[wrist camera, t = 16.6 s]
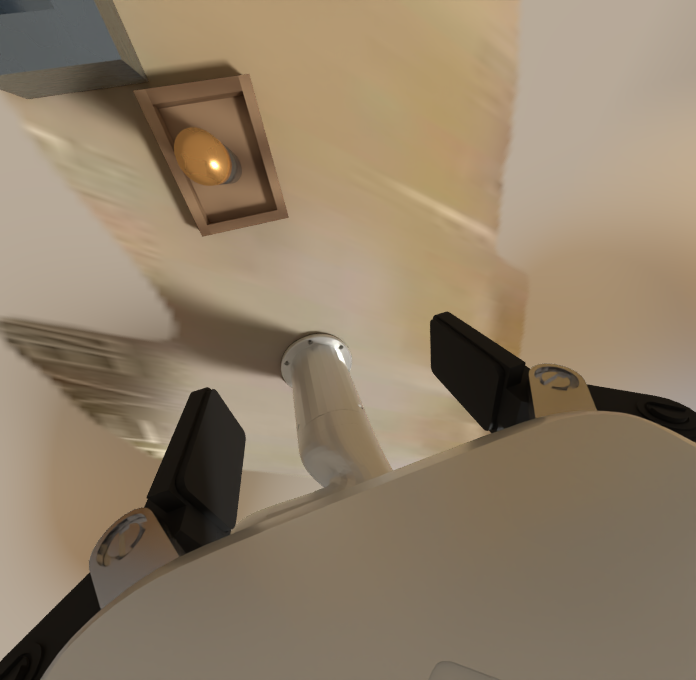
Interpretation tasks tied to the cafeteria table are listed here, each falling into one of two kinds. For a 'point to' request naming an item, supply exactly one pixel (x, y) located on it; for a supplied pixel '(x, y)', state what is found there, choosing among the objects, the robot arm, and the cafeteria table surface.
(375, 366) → the cafeteria table surface
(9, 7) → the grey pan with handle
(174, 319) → the cafeteria table surface
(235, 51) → the cafeteria table surface
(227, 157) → the orange grey cylinder
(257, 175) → the tray
